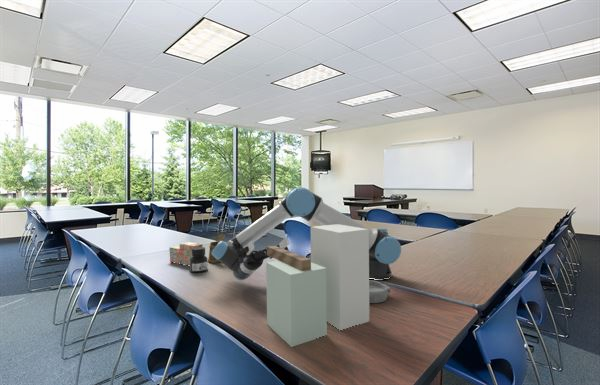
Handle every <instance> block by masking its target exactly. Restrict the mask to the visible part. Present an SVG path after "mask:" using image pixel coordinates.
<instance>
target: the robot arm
mask: <svg viewBox="0 0 600 385" xmlns="http://www.w3.org/2000/svg"><path fill="white" fill-rule="evenodd" d="M294 216H297V217H299V218H302V219H304V220H306V221H307V222H312V221H315V222H316V223H317V224H320V225H321V226H323V225H334V224H340V225H346V226H352V227H358V228H364V229H369V278H375V279H384V278H389V277H391V276H393V274H392V269H391V266H390V265H391V264H393V263H396V262H397V261H398V260H399V259H400V257H401V254H402V246H401V243H400V242H399V241H398V240H397V239H396V238H395V237H393V236H392V235H389V231H388V229H387V228H376V227H375V228H369V227H367V226H366V225H364V224H362V223H360V222H359V221H357V220H355V219H353V218H352V217H349V216H347V215H345V214H344V213H342V212H340V211H339V210H337V209H335V208H333V207H331V206H330V205H328V204H326V203H325V202H324V200H323V198H322V197H321V196H319V195H317V194H315V193H314V192H312V191H310V190H309V188H305V187H302V186H300V187H299V186H298V187H295V188H292V189H291V190H290V191H289V192H288V193H287V194H286V195H285V197H283V198H282V199H281V200H279V202H278V204H277V205H276V206H275V207H273V208H271V210H269V211H268V212H266V213H265V214H264V215H262V216H261V217H260V218H258V219H257V220H255V221H254V222H252V224H250V225H249V226H247V227H246V228H244V229H243V230H241V231H240V232H239V233H238V234H236V235H235V236H234V237H232V238H231V239H229V240H227V241H226V242H225V240H223V241H220V242H219V243H218V244H217V246H216V247H215V248H214V249H213V251H212V252H211V254H212V255H213V256H214V257H215V258H216V259H217V260H219V261H220V262H219V263H221V264H223V265H224V266H225V267H226V268H228V269H229V270H230V271H231V272H232V274H233V276H234V278H235V279H237V280H238V281H245V280H247V279H248V278H250V277H251V276H252V275H253V273H255V271H257V270H258V269H259V268H260V267H262V265H263V263H264V260H266V259H269V260H270V259H274V258H273V257H270V256H268V255H267V248H264V249H262V250H256V249H255V242H256V241H258V240H260V238H262V237H263V236H264V235H266V234H267V233H269V232H270V231H271V230H273V229H274V228H275V227H277V226H278V225H280V224H281V223H283V222H284V221H285V220H286V219H288V218H293V217H294ZM276 246H277V247H280V248H282V249H285V250H288V246H290V241H289V237H288V236H285V238H283V239H282V240H281V241H280V242H279V243H278V245H276ZM288 251H289V250H288ZM391 278H392V277H391Z"/></svg>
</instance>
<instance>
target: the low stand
mask: <svg viewBox="0 0 600 385" xmlns="http://www.w3.org/2000/svg"><path fill="white" fill-rule="evenodd" d="M265 264H266V265H265V267H266V268H265V269H266V272H265V274H266V276H265V277H266V324H267V326H268V327H269V328H271V330H273V332H275V333H276V335H278V337H280V339H282V340H283V341H284V342H285V343H287V344H288V345H289V346H290V348H293V347H296V346H299V345H301V344H305V343H308V342H312V341H314V340H317V339H320V338H319V337H321V338H323V337H322V336H324V337H326V336H325V335H327V336H328V323H327V296H326V268H325V267H322V266H320V265H317V264H314V263H312V262H311V270H306V271H301V270H299V269H296V268H294V267H292V266H290V265H288V264H286V263H283V262H281V261H279V260H272V261H271V260H270V261H266V262H265ZM316 338H317V339H316Z"/></svg>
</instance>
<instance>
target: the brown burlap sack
mask: <svg viewBox="0 0 600 385" xmlns="http://www.w3.org/2000/svg"><path fill="white" fill-rule="evenodd" d="M225 238H226V234H225V233H224V232H221V233H219V234H217V235H216V236H215V239H214V240H215V241H211V242H210V244H209V251H208V252H209V253H208V257H207V260H208V263H209V262H212V263H211V264H217V262H219V263H221V262H220V261H219V260H217V259H216V258H215V257H214V256H213V255H212V254H211V252H212V251H213V249H214V248H215V247H216V246H217V244H218V243H219V242H220V241H225Z"/></svg>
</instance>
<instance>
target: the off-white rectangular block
mask: <svg viewBox="0 0 600 385" xmlns="http://www.w3.org/2000/svg"><path fill="white" fill-rule="evenodd" d="M369 229H370V228H369ZM369 229H364V228H358V227H352V226H346V225H340V224H334V225H315V226H310V259H311V262H312V263H314V264H317V265H320V266H322V267H325V268H326V296H327V322H328V323H327V324H329V323H330V324H331V325H330V324H329V325H330V326H332V325H333V326H334V327H333V326H332V327H333V328H335V327H336V328H337V329H336V328H335V329H336V330H338V329H339V330H338V331H340V330H342V331H344V330H343V329H345V330H347V329H346V328H348V329H350V328H349V327H351V328H353V327H352V326H354V327H356V326H355V325H357V326H360V325H363V324H365V323H369V322H370V303H369ZM359 324H360V325H359Z"/></svg>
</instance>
